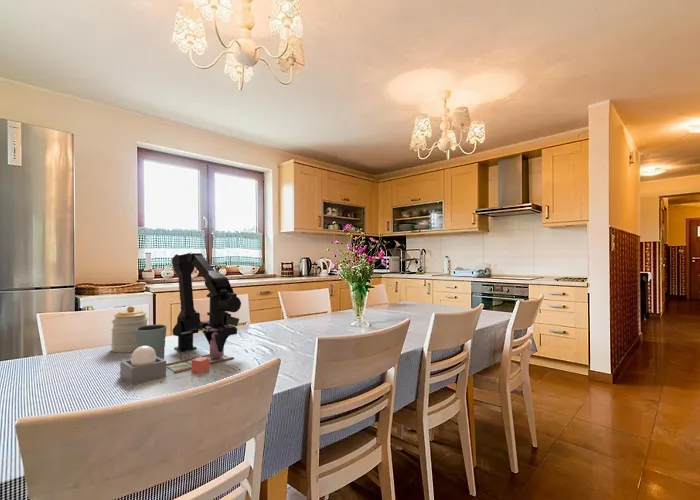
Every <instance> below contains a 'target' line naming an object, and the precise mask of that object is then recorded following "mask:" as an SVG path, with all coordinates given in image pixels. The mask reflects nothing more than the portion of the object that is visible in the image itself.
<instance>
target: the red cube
mask: <svg viewBox="0 0 700 500" xmlns="http://www.w3.org/2000/svg"><path fill="white" fill-rule="evenodd" d="M210 360H211V357H208V358H206V357H199V358H195V359H192V360H191V361H192V368H191V372H193V373H197V374H202V373H204V372H207V371H210V366H211V365H210Z"/></svg>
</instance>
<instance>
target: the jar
mask: <svg viewBox="0 0 700 500" xmlns="http://www.w3.org/2000/svg"><path fill="white" fill-rule="evenodd" d="M146 315H147V312H145V311H143V310H139V309H135V306H133V305H129V306H127V308H126V310H121V311H118V313H115V314H114V319H113V320H111V324H112V325H113V326H112V329H111V346H110V348H111V351H112V352H114V353H133V352H134V351H135V350H136V349H137V341H136V331H135V329H136V328H138V327H141V326H146V325H148V321H149V318H148V317H147V316H146Z"/></svg>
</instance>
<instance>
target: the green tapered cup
mask: <svg viewBox="0 0 700 500" xmlns="http://www.w3.org/2000/svg"><path fill="white" fill-rule="evenodd" d="M167 327H168V326H167V325H165V324H147V325H146V326H141V327H138V328H136V329H135V331H136V341H137V348H138V347H141V346H150V347H152V348H153V349H154V350H155V353H156V356H157V357H159V358H162V359H164V358H165V352H166V351H165V350H166V349H165V347H166V335H167Z"/></svg>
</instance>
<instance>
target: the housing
mask: <svg viewBox="0 0 700 500" xmlns="http://www.w3.org/2000/svg"><path fill="white" fill-rule="evenodd" d="M166 364H167V360H166V359H164V358H163V359H162V358H159V357H157V356H156V362H155V363H150V364H145V365H141V366H136V367H134V366H132V365H131V358H130V359H125V360H121V361H120V365H119V367H120V368H119V369H120V371H119V373H120V374H119V377H120V378H121V379H123V380H124V381H125V382H127V383H128V384H130V385H131V386H133V385H137V384H141V383H146V382H148V381H153V380H157V379H162V378H164V377H165V378H166V377H167V367H166Z"/></svg>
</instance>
